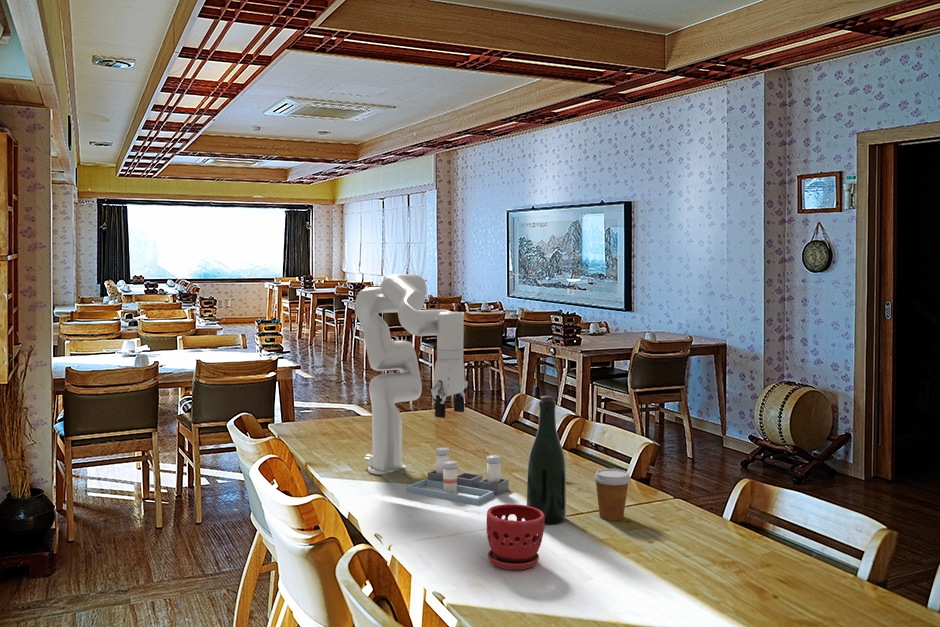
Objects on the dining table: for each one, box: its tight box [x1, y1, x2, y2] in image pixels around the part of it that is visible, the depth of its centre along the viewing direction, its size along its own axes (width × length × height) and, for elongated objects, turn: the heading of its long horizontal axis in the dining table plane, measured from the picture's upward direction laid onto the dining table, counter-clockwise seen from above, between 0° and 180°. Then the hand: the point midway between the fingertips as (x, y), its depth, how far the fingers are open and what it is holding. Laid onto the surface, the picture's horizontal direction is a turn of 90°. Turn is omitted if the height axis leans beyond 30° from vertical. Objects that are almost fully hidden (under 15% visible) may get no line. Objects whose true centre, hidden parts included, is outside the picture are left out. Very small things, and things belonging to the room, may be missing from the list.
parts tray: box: [406, 478, 495, 506], centre depth 234 cm, size 24×9×3 cm, turn 58°
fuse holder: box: [427, 469, 511, 497], centre depth 242 cm, size 25×8×4 cm, turn 58°
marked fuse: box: [442, 460, 458, 495], centre depth 234 cm, size 4×4×10 cm
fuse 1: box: [434, 447, 450, 475], centre depth 247 cm, size 4×4×10 cm
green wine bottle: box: [526, 395, 567, 525], centre depth 215 cm, size 10×10×33 cm
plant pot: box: [486, 503, 545, 571], centre depth 185 cm, size 13×13×12 cm
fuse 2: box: [486, 454, 502, 484], centre depth 237 cm, size 4×4×10 cm
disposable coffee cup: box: [593, 468, 631, 521], centre depth 218 cm, size 10×10×12 cm
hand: (449, 414), depth 234 cm, fingers open, 9 cm apart
